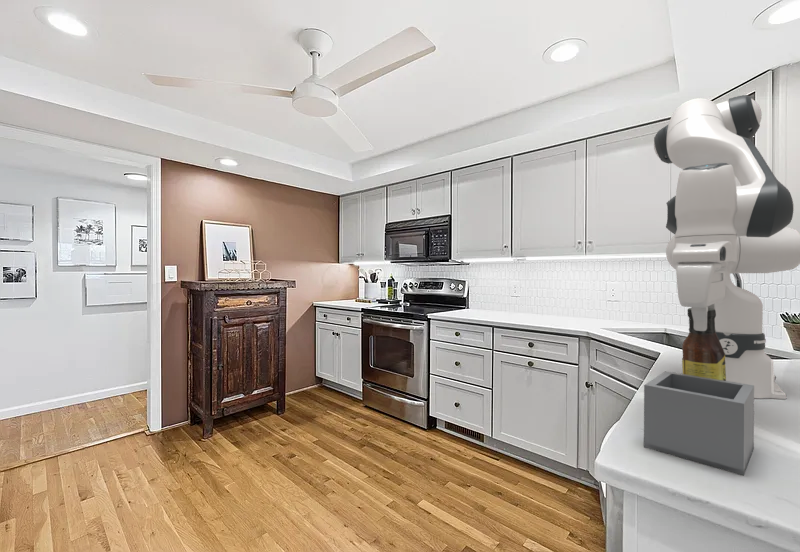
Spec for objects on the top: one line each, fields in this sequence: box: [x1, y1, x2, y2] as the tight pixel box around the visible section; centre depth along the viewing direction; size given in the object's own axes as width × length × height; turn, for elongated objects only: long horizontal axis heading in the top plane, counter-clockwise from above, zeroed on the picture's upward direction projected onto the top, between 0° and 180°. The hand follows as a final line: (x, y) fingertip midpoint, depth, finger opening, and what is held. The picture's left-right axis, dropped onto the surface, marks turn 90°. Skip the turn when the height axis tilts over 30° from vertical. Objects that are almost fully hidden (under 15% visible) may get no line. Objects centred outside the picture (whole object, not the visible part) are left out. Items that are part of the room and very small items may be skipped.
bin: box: [643, 370, 755, 477], centre depth 59 cm, size 12×12×10 cm
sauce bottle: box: [681, 307, 726, 381], centre depth 69 cm, size 6×6×20 cm
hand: (703, 328), depth 69 cm, fingers open, 4 cm apart
